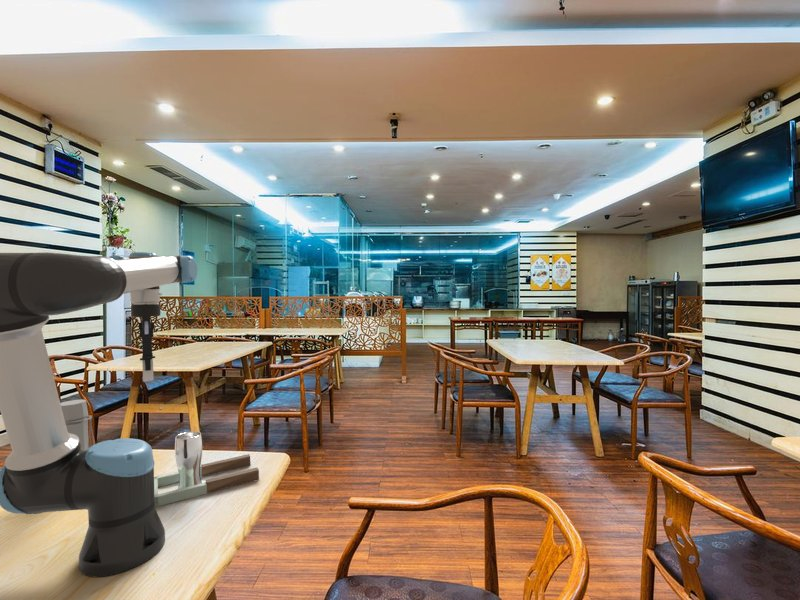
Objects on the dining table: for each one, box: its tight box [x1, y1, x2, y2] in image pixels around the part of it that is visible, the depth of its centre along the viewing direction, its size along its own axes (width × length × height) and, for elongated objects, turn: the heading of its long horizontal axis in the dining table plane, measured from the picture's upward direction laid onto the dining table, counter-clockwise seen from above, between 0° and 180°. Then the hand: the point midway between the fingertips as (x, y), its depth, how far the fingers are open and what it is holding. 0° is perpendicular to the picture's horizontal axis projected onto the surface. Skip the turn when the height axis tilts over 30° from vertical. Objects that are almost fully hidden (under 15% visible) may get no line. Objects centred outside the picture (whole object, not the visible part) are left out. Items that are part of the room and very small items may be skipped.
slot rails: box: [200, 453, 260, 494], centre depth 119 cm, size 14×14×3 cm
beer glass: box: [174, 430, 203, 489], centre depth 114 cm, size 7×7×15 cm
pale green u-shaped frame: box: [154, 466, 208, 508], centre depth 112 cm, size 14×13×2 cm
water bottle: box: [60, 399, 96, 450], centre depth 115 cm, size 9×8×25 cm
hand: (148, 380), depth 121 cm, fingers closed
